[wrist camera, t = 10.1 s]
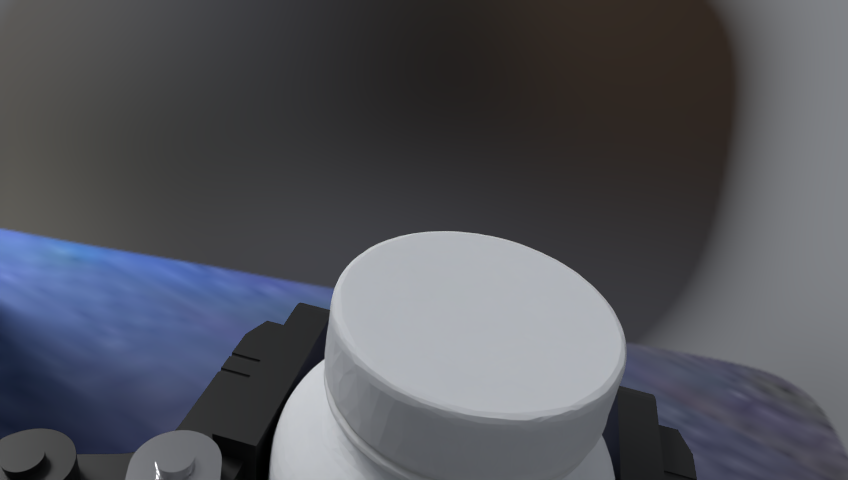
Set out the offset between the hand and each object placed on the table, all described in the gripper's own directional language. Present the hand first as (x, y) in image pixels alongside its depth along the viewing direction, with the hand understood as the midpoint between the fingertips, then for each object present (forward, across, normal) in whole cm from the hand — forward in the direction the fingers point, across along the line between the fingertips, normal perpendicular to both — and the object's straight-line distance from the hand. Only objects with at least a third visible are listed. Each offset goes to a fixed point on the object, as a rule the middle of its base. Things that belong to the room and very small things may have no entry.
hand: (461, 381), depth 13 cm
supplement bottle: (-3, 0, +6) cm, 7 cm away
